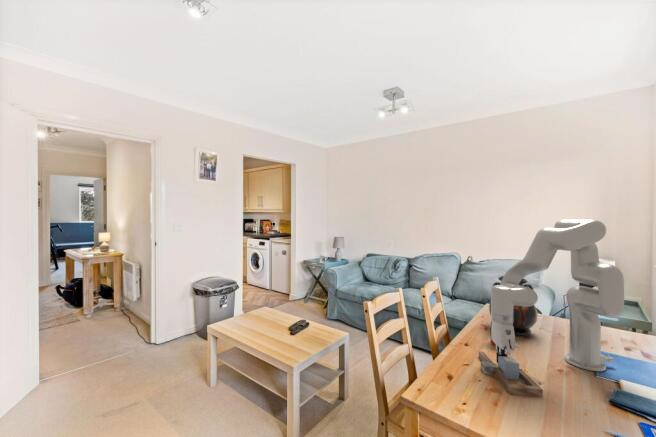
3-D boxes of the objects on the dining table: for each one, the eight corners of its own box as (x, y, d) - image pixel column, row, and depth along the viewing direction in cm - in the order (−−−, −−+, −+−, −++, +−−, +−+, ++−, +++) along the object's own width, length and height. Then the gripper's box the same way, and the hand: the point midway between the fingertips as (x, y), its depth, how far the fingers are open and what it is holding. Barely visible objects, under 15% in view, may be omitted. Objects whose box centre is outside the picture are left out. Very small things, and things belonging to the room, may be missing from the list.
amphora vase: (494, 336, 141) (495, 281, 141) (484, 321, 162) (484, 273, 162) (545, 342, 135) (545, 284, 135) (527, 326, 155) (528, 275, 155)
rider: (511, 372, 108) (512, 355, 108) (519, 379, 103) (519, 362, 103) (498, 371, 108) (498, 355, 108) (504, 378, 103) (504, 361, 103)
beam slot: (504, 358, 119) (504, 351, 119) (542, 396, 93) (542, 387, 93) (471, 356, 121) (471, 349, 121) (500, 393, 95) (500, 384, 95)
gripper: (522, 325, 103) (522, 374, 103) (502, 311, 118) (502, 355, 118) (500, 323, 104) (500, 373, 104) (483, 310, 119) (483, 353, 119)
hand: (501, 363), depth 111 cm, fingers closed
